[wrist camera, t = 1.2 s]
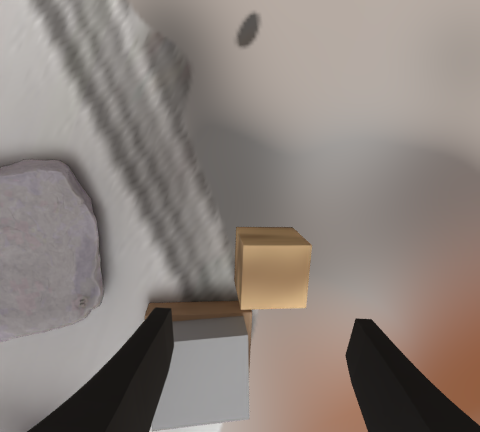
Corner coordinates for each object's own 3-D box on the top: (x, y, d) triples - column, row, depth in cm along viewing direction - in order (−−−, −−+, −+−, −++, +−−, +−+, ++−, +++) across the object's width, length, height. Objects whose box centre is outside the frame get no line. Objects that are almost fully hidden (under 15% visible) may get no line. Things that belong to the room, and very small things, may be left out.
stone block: (82, 148, 23) (-79, 177, 20) (69, 149, 18) (-140, 187, 16) (127, 287, 26) (-6, 327, 23) (125, 316, 22) (-39, 370, 19)
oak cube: (288, 279, 25) (306, 307, 21) (234, 280, 24) (240, 309, 20) (292, 227, 24) (311, 245, 20) (236, 226, 23) (243, 245, 19)
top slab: (244, 392, 25) (249, 419, 22) (157, 402, 24) (152, 431, 22) (243, 315, 23) (247, 335, 21) (149, 323, 22) (143, 344, 20)
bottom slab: (244, 376, 27) (247, 399, 25) (153, 382, 26) (148, 406, 24) (247, 296, 26) (252, 312, 23) (150, 299, 25) (144, 316, 22)
